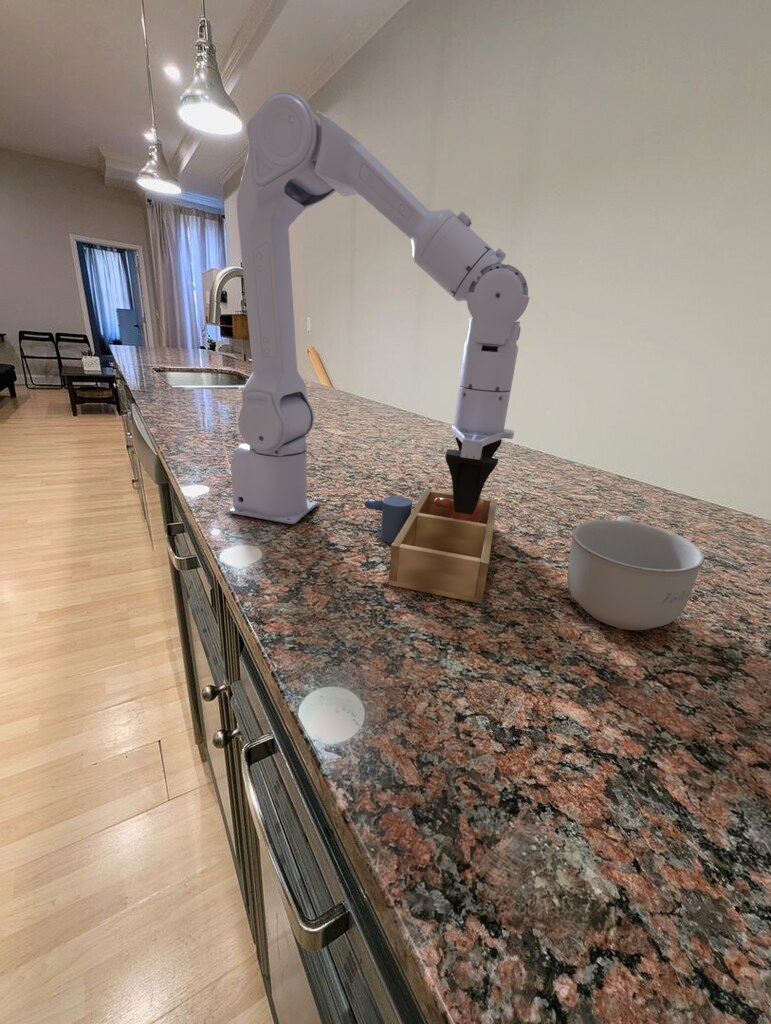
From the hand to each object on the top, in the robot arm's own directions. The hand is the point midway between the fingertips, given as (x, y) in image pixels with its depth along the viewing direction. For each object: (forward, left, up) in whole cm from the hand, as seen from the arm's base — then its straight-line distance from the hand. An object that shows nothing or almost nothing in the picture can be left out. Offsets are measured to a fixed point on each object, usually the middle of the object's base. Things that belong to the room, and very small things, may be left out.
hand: (467, 501), depth 55 cm
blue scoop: (-9, -2, -5) cm, 11 cm away
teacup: (+17, -8, -6) cm, 20 cm away
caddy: (-1, -4, -6) cm, 7 cm away
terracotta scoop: (-1, 0, -5) cm, 5 cm away
